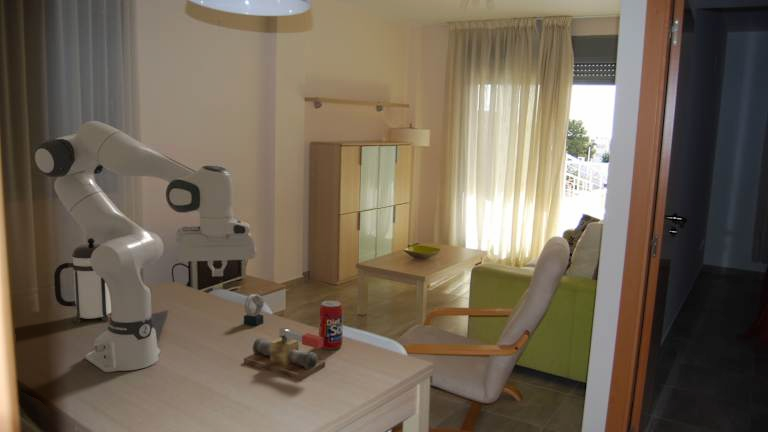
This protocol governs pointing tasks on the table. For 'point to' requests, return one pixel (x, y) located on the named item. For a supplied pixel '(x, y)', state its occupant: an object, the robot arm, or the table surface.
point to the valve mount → (284, 358)
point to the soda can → (331, 324)
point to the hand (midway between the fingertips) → (217, 275)
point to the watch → (255, 317)
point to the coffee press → (85, 286)
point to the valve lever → (302, 337)
